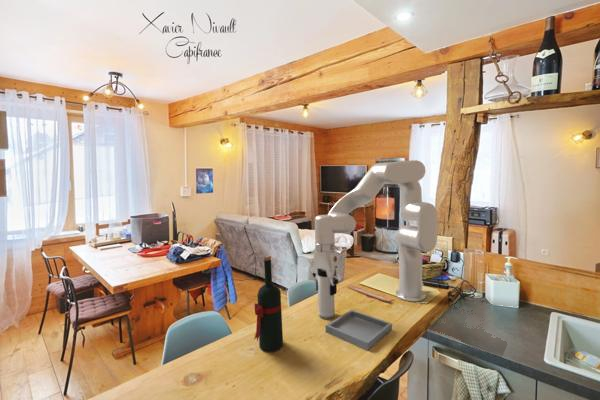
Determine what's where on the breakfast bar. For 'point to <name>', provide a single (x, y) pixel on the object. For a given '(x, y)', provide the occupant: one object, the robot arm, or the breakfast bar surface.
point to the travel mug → (325, 296)
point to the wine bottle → (269, 313)
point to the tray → (359, 329)
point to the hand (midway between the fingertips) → (326, 291)
